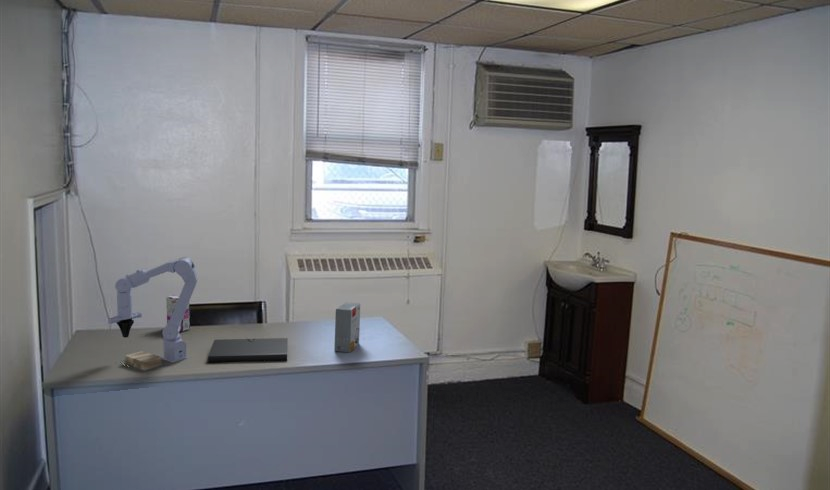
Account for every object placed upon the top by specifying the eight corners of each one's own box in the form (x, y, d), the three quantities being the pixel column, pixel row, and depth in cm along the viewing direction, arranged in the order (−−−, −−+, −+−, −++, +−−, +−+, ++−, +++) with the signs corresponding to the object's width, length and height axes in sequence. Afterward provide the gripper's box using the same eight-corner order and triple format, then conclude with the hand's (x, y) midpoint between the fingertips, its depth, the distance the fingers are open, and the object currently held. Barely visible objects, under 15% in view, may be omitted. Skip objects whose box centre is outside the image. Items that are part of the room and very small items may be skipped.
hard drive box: (350, 353, 298) (350, 310, 295) (334, 351, 299) (334, 309, 296) (359, 343, 313) (360, 302, 310) (344, 342, 314) (345, 301, 311)
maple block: (142, 358, 280) (161, 365, 273) (125, 363, 273) (144, 370, 266) (142, 351, 279) (161, 357, 272) (125, 355, 272) (144, 361, 266)
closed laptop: (287, 337, 307) (287, 353, 283) (287, 345, 308) (287, 362, 284) (214, 338, 301) (207, 355, 277) (214, 347, 301) (207, 365, 278)
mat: (169, 365, 273) (168, 364, 273) (143, 373, 263) (143, 372, 263) (139, 356, 284) (139, 355, 284) (113, 363, 274) (113, 362, 274)
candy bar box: (190, 329, 326) (189, 297, 324) (182, 332, 322) (182, 299, 319) (174, 326, 331) (173, 294, 329) (166, 328, 327) (165, 296, 324)
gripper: (134, 301, 284) (134, 331, 286) (102, 307, 272) (103, 338, 274) (144, 303, 280) (145, 334, 282) (113, 310, 268) (114, 342, 270)
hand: (125, 336), depth 278 cm, fingers closed
